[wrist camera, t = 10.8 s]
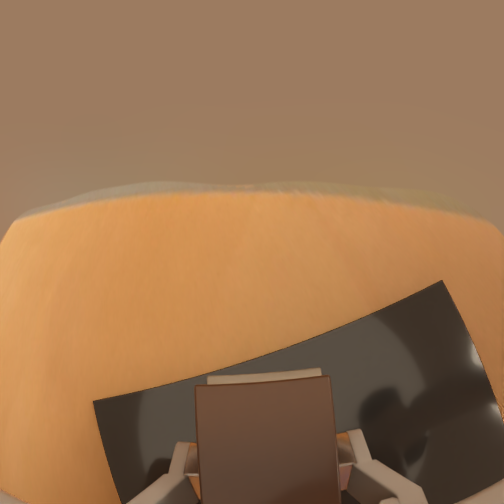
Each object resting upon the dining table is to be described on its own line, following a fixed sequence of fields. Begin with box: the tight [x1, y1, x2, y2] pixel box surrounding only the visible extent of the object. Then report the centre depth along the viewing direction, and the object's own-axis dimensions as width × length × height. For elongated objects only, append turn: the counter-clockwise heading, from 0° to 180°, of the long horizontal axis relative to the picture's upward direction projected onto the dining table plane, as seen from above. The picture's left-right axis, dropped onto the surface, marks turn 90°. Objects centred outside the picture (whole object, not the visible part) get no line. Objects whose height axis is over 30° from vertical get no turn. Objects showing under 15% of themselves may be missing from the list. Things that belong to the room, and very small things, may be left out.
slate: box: [93, 280, 504, 504], centre depth 12 cm, size 22×17×1 cm
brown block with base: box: [194, 367, 341, 504], centre depth 10 cm, size 8×5×8 cm, turn 4°
